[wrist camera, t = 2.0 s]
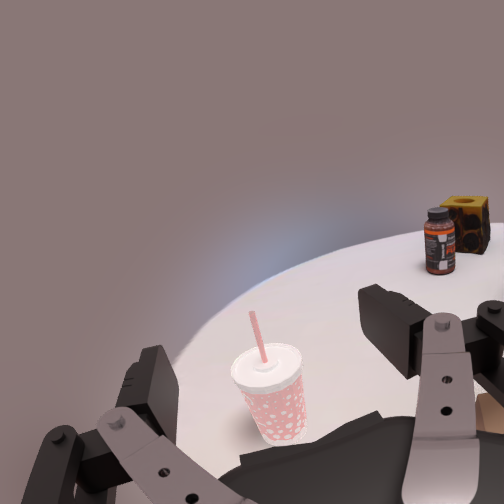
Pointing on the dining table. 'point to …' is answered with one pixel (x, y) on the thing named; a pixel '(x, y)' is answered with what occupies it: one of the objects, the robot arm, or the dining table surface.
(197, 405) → the dining table surface
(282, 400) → the beverage cup
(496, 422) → the walnut riser block
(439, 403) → the robot arm
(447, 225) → the supplement bottle
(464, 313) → the dining table surface
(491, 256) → the dining table surface
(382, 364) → the dining table surface
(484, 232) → the yellow tissue box cover
